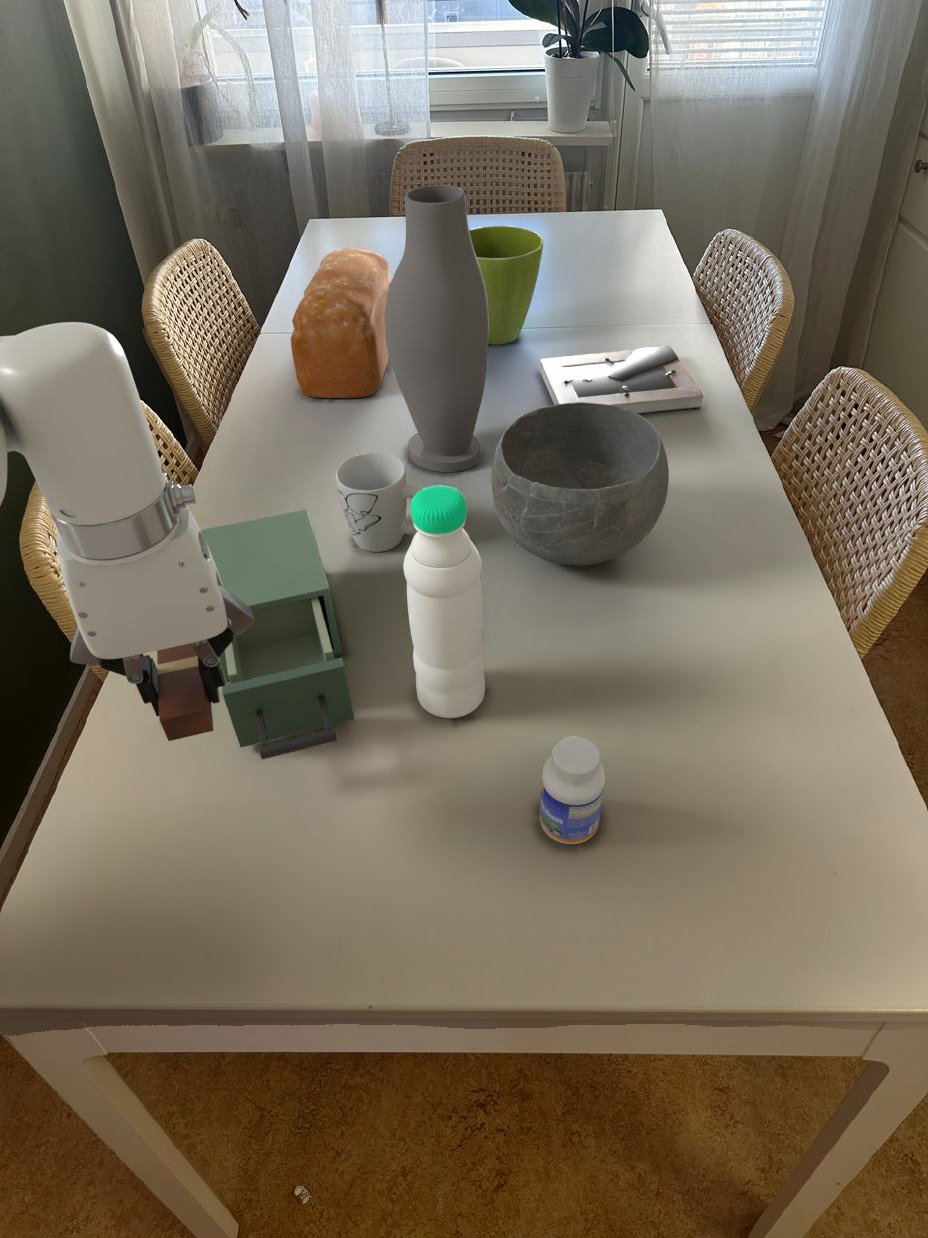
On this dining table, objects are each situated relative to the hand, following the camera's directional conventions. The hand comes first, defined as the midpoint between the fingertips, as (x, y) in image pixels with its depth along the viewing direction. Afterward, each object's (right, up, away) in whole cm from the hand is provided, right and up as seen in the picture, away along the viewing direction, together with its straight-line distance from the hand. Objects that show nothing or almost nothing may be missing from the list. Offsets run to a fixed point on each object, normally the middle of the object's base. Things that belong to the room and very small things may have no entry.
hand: (187, 695), depth 70 cm
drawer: (+5, -3, +18) cm, 19 cm away
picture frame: (+46, +42, +66) cm, 91 cm away
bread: (+3, +50, +76) cm, 91 cm away
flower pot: (+28, +56, +81) cm, 102 cm away
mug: (+13, +16, +40) cm, 45 cm away
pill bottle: (+32, -12, +8) cm, 35 cm away
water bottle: (+21, -2, +20) cm, 29 cm away
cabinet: (+1, +6, +29) cm, 29 cm away
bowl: (+36, +16, +38) cm, 55 cm away
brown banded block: (0, 0, 0) cm, 0 cm away
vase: (+20, +30, +54) cm, 65 cm away
